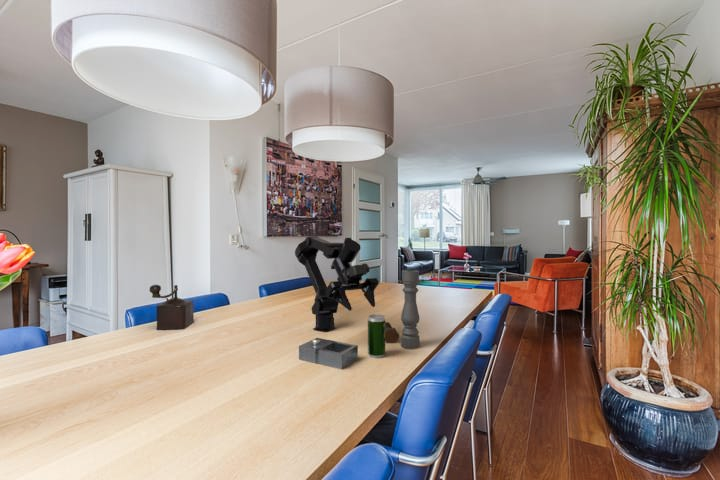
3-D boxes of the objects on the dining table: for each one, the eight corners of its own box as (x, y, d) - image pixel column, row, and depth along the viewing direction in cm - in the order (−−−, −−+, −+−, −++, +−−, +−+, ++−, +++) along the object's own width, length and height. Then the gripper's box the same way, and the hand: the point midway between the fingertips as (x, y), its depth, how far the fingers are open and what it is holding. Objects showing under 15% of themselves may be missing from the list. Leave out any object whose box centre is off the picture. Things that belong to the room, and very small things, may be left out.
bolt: (385, 335, 131) (393, 347, 117) (374, 329, 131) (380, 340, 116) (393, 322, 132) (401, 332, 117) (381, 315, 131) (389, 325, 116)
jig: (298, 359, 102) (298, 342, 101) (317, 350, 109) (316, 334, 109) (341, 369, 94) (341, 351, 94) (357, 358, 102) (357, 342, 102)
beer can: (370, 358, 102) (370, 319, 102) (365, 352, 107) (365, 314, 107) (387, 357, 103) (387, 317, 103) (382, 351, 108) (382, 313, 108)
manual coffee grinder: (166, 323, 141) (166, 279, 141) (194, 322, 143) (194, 279, 142) (147, 334, 126) (146, 285, 126) (178, 333, 127) (178, 285, 127)
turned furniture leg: (420, 344, 116) (421, 270, 115) (417, 350, 110) (418, 272, 109) (402, 342, 118) (403, 269, 117) (398, 347, 112) (399, 271, 111)
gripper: (329, 256, 110) (347, 296, 101) (376, 254, 120) (396, 290, 111) (318, 278, 116) (334, 317, 108) (363, 274, 127) (381, 309, 118)
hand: (362, 308), depth 111 cm, fingers open, 9 cm apart
